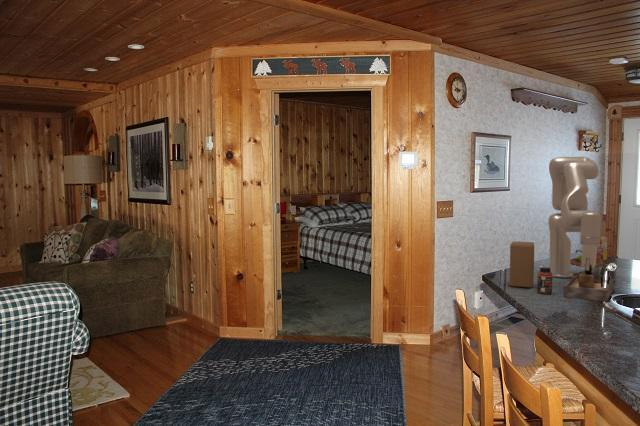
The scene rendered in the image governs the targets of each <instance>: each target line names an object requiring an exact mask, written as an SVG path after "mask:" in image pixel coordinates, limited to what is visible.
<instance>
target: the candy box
mask: <svg viewBox="0 0 640 426" xmlns="http://www.w3.org/2000/svg"><path fill="white" fill-rule="evenodd" d="M607 259H608V236H601V235H600V245H597V255H596V260H598V261H600V260H601V261H606V260H607Z"/></svg>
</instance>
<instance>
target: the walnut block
mask: <svg viewBox="0 0 640 426" xmlns="http://www.w3.org/2000/svg"><path fill="white" fill-rule="evenodd" d="M578 279H579V287H581V288H591V289H594V280H595V275H594V273H593V274H585V273H583V272H582V273H579V275H578Z"/></svg>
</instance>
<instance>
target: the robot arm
mask: <svg viewBox="0 0 640 426" xmlns="http://www.w3.org/2000/svg"><path fill="white" fill-rule="evenodd" d="M548 170H549V171H548V172H549V175H550V179H551V182H552V183H551V184H552V189H551V190H552V192H551V205H552V208H553V209H554V210H555V211H560V212H559V213H557V212H556V213H553V214H551V215H550V216H549V217H548V230H549V262H548V263H549V265H547V266H544V265H540V266H539V268H540V267H550V272H551V273H552V278H572V277H573V276H574V273H572V272H571V265H570V260H571V253H572V252H571V248H572V241H571V238H570V237H569V236H568V235H567V233H579V234H580V235H579V236H580V239H579V240H580V241H579V244H580V245H582V247H581V251H582V253H581V254H580V255H581V268H584V274H593V275H594V269H595V268H594V266H595V265H596V260H597V259H596V255H597V245H600V236H601V227H602V226H601V222H602V215H601V214H600V213H599V212H596V211H595V210H590V209H589V210H588V206H589V205H588V203H589V201H588V197H587V194H588V193H589V185H588V181H587V180H595V179H597V178H598V176H599V166H598V164H597V162H595V161H594V160H592V159H591V158H589V157H586V156H559V157H554V158H552V159H551V160H550V161H549V164H548ZM584 265H585V267H583V266H584Z"/></svg>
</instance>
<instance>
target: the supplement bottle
mask: <svg viewBox="0 0 640 426" xmlns="http://www.w3.org/2000/svg"><path fill="white" fill-rule="evenodd" d="M539 268H540V270H539V271H538V272H537V277H536V278H537V280H536V282H537V286H536V292H537V293H538V294H542V295H550V294H552V292H553V277H552V273H551V272H550V267H547V266H545V267H540V266H539Z"/></svg>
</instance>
